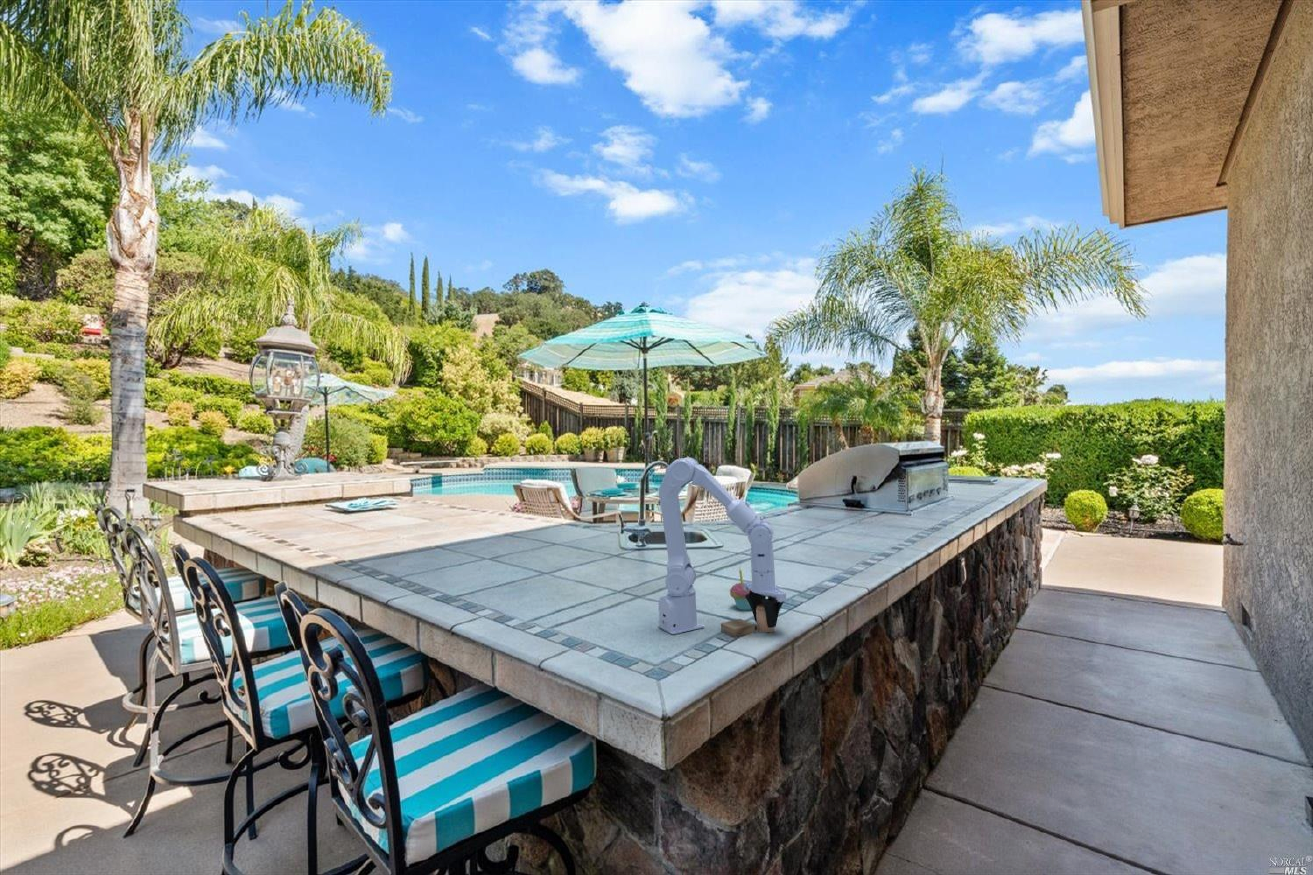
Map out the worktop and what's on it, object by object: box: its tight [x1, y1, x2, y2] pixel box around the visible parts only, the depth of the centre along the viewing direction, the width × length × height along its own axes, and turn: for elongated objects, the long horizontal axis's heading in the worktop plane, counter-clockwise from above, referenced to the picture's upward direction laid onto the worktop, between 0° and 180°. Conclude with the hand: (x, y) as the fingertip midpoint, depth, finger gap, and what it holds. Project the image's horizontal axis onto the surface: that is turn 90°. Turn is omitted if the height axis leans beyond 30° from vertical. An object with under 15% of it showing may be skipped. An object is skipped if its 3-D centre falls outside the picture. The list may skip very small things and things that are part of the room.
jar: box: [756, 604, 776, 633], centre depth 144 cm, size 4×4×6 cm
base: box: [720, 618, 756, 639], centre depth 144 cm, size 6×6×2 cm
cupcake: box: [729, 567, 752, 611], centre depth 164 cm, size 9×8×12 cm
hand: (765, 624), depth 144 cm, fingers closed on jar, 4 cm apart
